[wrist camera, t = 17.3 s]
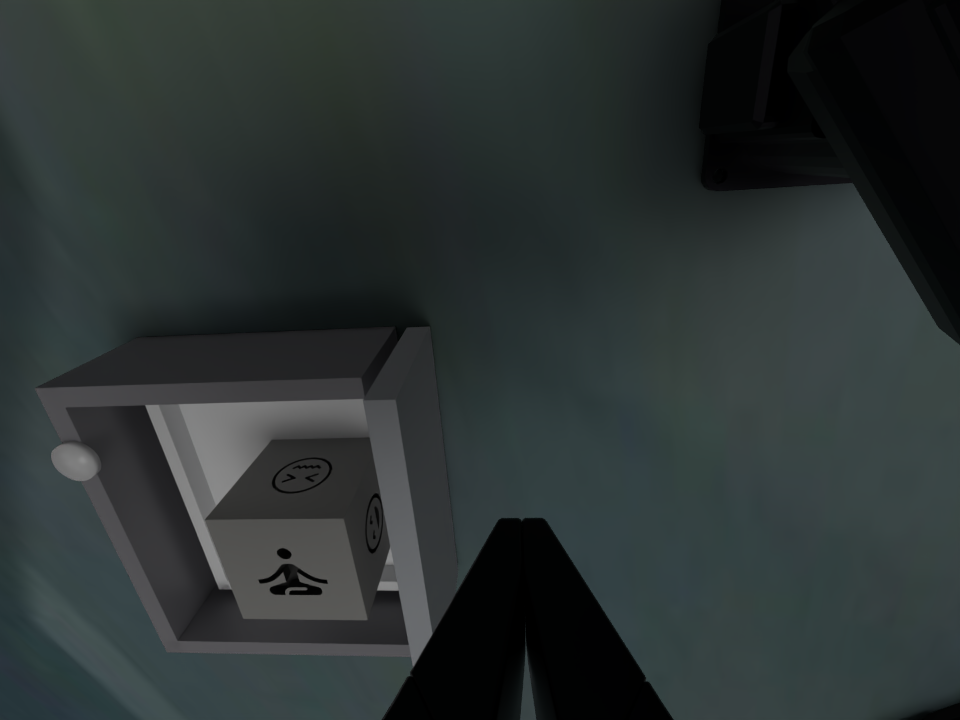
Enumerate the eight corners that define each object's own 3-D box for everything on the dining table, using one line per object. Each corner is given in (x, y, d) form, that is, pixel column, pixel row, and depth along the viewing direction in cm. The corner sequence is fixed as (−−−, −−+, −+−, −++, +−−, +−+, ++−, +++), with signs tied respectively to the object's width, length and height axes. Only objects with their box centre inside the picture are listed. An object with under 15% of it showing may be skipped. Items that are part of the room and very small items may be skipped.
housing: (395, 326, 20) (358, 381, 15) (430, 567, 26) (411, 663, 21) (129, 337, 21) (16, 392, 16) (219, 566, 27) (154, 658, 22)
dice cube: (296, 525, 23) (243, 618, 18) (271, 439, 21) (204, 519, 16) (397, 525, 22) (367, 620, 18) (381, 437, 20) (343, 518, 16)
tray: (429, 326, 20) (395, 399, 14) (458, 570, 25) (442, 695, 20) (167, 337, 21) (31, 409, 15) (250, 569, 26) (175, 688, 20)
